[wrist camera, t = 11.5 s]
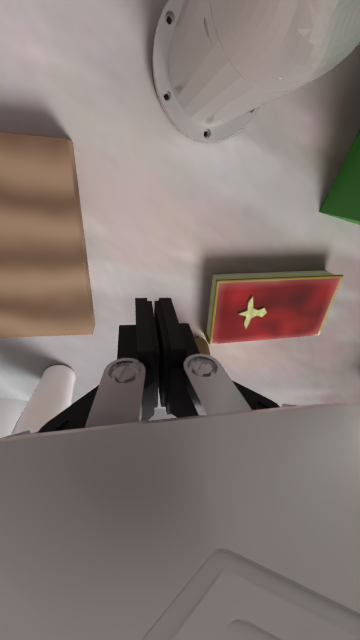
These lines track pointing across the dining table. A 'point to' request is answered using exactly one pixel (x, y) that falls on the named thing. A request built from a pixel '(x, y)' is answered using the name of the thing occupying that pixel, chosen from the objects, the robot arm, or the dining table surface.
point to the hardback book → (346, 188)
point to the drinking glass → (47, 399)
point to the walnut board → (41, 240)
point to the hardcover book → (269, 305)
